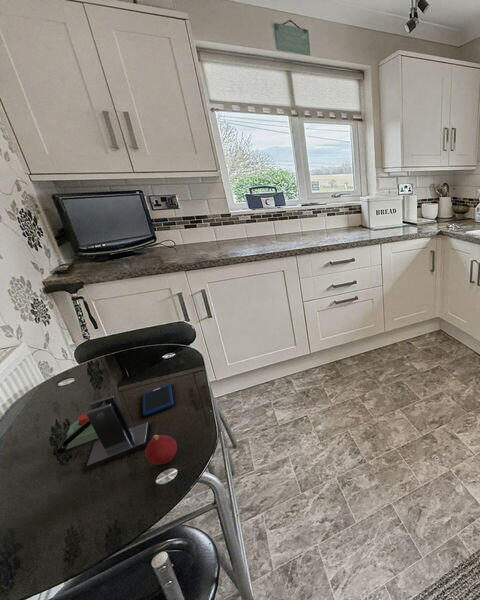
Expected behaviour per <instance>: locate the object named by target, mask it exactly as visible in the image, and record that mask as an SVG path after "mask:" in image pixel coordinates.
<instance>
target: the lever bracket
mask: <svg viewBox="0 0 480 600" xmlns="http://www.w3.org/2000/svg"><path fill="white" fill-rule="evenodd" d="M104 401H105V402H107V403H109V404H108V405H105V406H102V407H99V408H97V407H98V406H99V405H100V404H102V403H103V402H104ZM112 405H113V406H114V408H113V407H112ZM89 407H90V408H91V409H90V410H87V411H86V412H85V413H86V416H87V417H88V419H89V421H90V423H91V425H92V427H93V429H94V430H95V432H96V434H97V436H98V438H97V439H98V440H96V441H94V443H93V446H92V449H91V451H90V455H89V458H88V461H87V464H86V467H87V468H88V470H91V469H94V468H96V467H99V466H101V465H104V464H107V463H109V462H112V461H114V460H116V459H119V458H121V457H124V456H126V455H129V454H131V453H134V452H136V451H139V450H141V449H144V448H146V447H147V445H148V441H149V433H150V432H149V431H150V424H149V422H144V423H142V424H139V425H137V426H134V427H132V428H130V426H129V424H128V422H127V420H126V417H125V416H124V414H123V412H122V410H121V408H120V405H119V404H118V402H117V400H116V397H115V395H110V396H107V397H104V398H101V399H97V400H95V401H92V402H90V403H89Z"/></svg>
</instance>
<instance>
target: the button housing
mask: <svg viewBox="0 0 480 600" xmlns="http://www.w3.org/2000/svg"><path fill="white" fill-rule="evenodd" d="M80 426H81V424H80V423H79V421H78V419H77V420H76V421H75V422H74V423H73V424H71V425H70V426H69V428H68V431H67V433H66V435H71V434H72V433H73V432H74V431H75V430H77V429H78V428H79V427H80ZM97 439H99V438H98V436H97V434H96V432H95V430H94V429H93V427H92V425H90V426H89V427H88V428H86V429H85V430H84V431H83V432H82V433H81V434H79V435H78V436H77V437H76V438H75V439H74V440H72V441H71V442H70V443H69V444H68V446H67V448H66V450H69V449H72V448H75V447H77V446H80V445H83V444H86V443H89V442H91V441H94V440H97Z"/></svg>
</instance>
